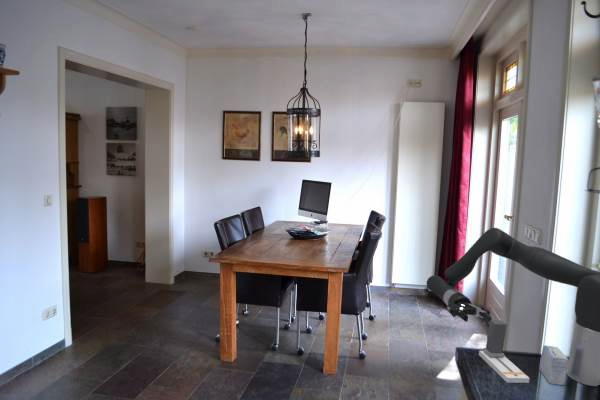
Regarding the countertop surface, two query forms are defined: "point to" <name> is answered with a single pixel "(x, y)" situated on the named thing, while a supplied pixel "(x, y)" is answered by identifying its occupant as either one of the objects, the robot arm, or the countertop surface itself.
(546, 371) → the medicine box
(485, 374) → the countertop surface
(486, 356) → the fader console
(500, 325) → the fader tab
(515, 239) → the robot arm
